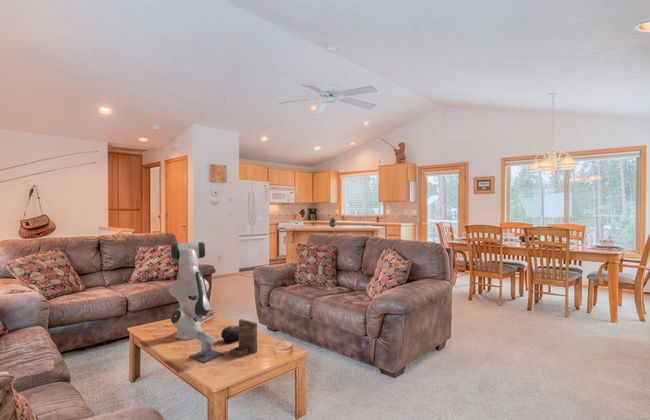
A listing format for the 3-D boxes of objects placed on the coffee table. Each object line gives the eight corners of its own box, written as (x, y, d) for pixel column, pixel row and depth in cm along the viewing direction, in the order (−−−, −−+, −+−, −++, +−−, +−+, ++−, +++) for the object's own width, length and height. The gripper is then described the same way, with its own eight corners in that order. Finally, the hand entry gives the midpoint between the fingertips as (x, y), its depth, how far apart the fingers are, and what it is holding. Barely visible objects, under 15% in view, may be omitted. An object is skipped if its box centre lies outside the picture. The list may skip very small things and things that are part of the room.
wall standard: (242, 358, 214) (242, 328, 214) (226, 353, 222) (226, 323, 222) (257, 352, 224) (257, 323, 224) (241, 347, 232) (241, 319, 232)
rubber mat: (189, 357, 216) (189, 355, 216) (208, 349, 228) (208, 348, 228) (204, 363, 208) (204, 361, 208) (223, 354, 220) (223, 353, 220)
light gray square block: (205, 356, 215) (205, 339, 215) (201, 355, 218) (201, 338, 218) (211, 354, 219) (211, 337, 219) (207, 352, 221) (206, 336, 221)
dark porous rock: (249, 337, 249) (249, 322, 249) (228, 345, 235) (228, 330, 235) (238, 334, 255) (238, 320, 255) (218, 342, 241) (218, 327, 240)
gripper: (207, 329, 206) (221, 341, 214) (186, 322, 218) (199, 334, 226) (201, 339, 203) (215, 351, 211) (179, 332, 214) (193, 343, 222)
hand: (207, 342), depth 219 cm, fingers open, 7 cm apart
